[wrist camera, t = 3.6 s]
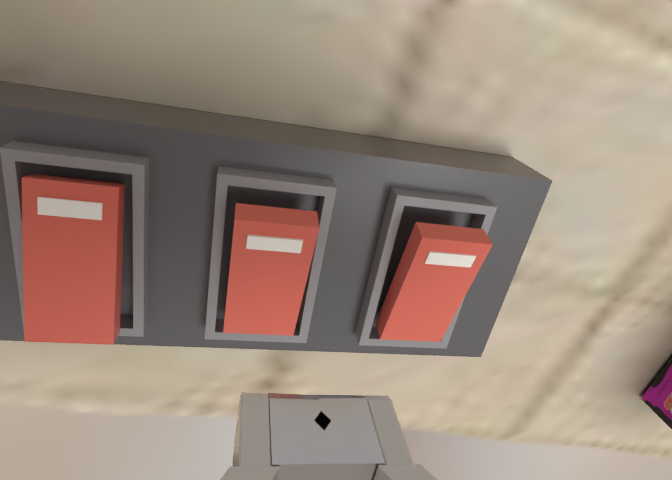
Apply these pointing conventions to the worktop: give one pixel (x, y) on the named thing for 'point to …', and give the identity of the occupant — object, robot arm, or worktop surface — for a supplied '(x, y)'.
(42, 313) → the rocker
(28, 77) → the worktop surface
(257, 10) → the worktop surface
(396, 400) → the worktop surface
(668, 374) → the candy bar box
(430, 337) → the rocker
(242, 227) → the rocker
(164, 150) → the rocker switch panel
